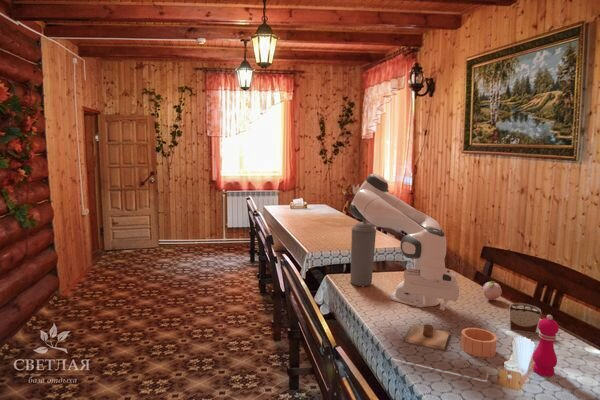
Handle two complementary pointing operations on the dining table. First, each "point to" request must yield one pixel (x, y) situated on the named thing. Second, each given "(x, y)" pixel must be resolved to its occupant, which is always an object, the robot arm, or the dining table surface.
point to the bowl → (478, 342)
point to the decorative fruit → (492, 290)
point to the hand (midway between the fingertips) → (429, 307)
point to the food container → (524, 317)
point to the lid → (427, 336)
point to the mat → (430, 347)
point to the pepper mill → (546, 347)
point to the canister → (362, 253)
